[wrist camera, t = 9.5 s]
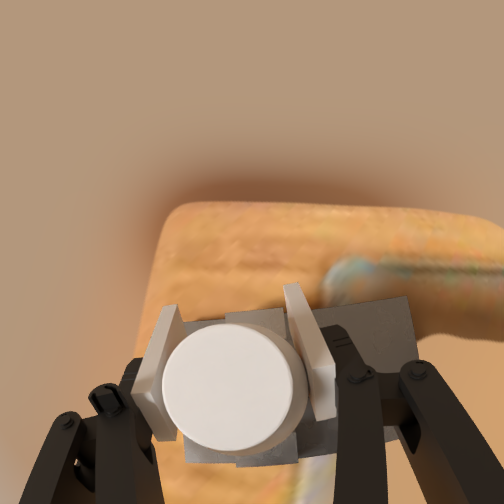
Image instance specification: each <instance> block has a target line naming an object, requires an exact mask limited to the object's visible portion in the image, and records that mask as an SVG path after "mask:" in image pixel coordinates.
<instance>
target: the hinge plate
mask: <svg viewBox="0 0 504 504" xmlns="http://www.w3.org/2000/svg"><path fill="white" fill-rule="evenodd" d="M311 311H312V314H313V316H314V318H315V320H316V322H317V325H318V327H319V328H322V327H327V326H331V325H336V324H338V325H340V326H341V327H343V328H344V329H346V331H347V333H348V334H349V336H350V338H351V340H352V341H353V344H354V345H355V347H356V348H357V350H358V352H359V354H360V355H361V357H362V359H363V361H364V362H365V364H366V365H369V366H371V367H372V368H374V369H375V371H376V372H380V373H396V372H400V369H401V367H402V366H403V365H404V364H405V363H407V362H409V361H412V360H419V355H418V349H417V344H416V338H415V333H414V328H413V323H412V318H411V313H410V308H409V304H408V299H407V296H402V297H396V298H390V299H384V300H377V301H371V302H365V303H358V304H351V305H344V306H337V307H330V308H322V309H314V310H311ZM226 323H250V324H255V325H259V326H262V327H265V328H267V329H269V330H271V331H273V332H275V333H276V334H278V335H279V336H281V337H282V338H283V339H285V340H286V341H287V342H288V343H289V344H290V345H291V346H292V347H293V348H294V349H295V346H294V343H293V340H292V336H291V333H290V329H289V322H288V315H287V313H284V311H283V307H281V308H272V309H263V310H253V311H242V312H232V313H225V319H219V320H206V321H193V322H183V324H184V327H185V330H186V333H187V336H189V335H191V334H192V333H194V332H196V331H197V330H199V329H202V328H205V327H208V326H211V325H216V324H226ZM295 351H296V350H295ZM383 427H384V438H385V442H389V441H393V440H397V439H399V438H398V435H397V433H396V431H395V429H394V427H393V426H383ZM183 437H184V449H185V460H186V463H236V467H258V466H272V465H284V464H293V463H298V458H306V457H313V456H320V455H327V454H333V453H337V440H338V412H337V410H336V417H334V418H330V419H326V420H321V421H316V418H315V414H314V411H313V407H312V404H311V401H310V397H309V394H308V401H307V405H306V409H305V412H304V414H303V416H302V418H301V420H300V422H299V424H298V425H297V427H296V428H295V429H294V431H293V432H292V433H291V434H290V435H289V436H288V437H287V438H286V439H285V440H283V441H282V442H281V443H279V444H278V445H276V446H275V447H273V448H271V449H269V450H266V451H264V452H260V453H257V454H252V455H246V456H233V455H226V454H221V453H218V452H215V451H212V450H210V449H208V448H206V447H204V446H202V445H200V444H198V443H196V442H194V441H193V440H191V439H190V438H188V437H187V436H186V435H184V434H183Z"/></svg>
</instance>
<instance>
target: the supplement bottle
mask: <svg viewBox="0 0 504 504" xmlns="http://www.w3.org/2000/svg"><path fill="white" fill-rule="evenodd" d="M308 390H309V386H308V378H307V374H306V370H305V367H304V365H303V363H302V360H301V359H300V357H299V355H298V353H297V352H296V351H295V349H294V348H293V347H292V346H291V345H290V344H289V343H288V342H287V341H286V340H285V339H283V338H282V337H281V336H279V335H278V334H276V333H275V332H273V331H271V330H269V329H267V328H265V327H262V326H259V325H255V324H250V323H226V324H216V325H211V326H208V327H205V328H202V329H199V330H197V331H196V332H194V333H192V334H191V335H189V336H188V337H186V338H185V339H184V340H183V341H182V342H181V343H180V344H179V345H178V346H177V347H176V348H175V350H174V351H173V352H172V354H171V356H170V358H169V359H168V361H167V364H166V367H165V370H164V373H163V379H162V394H163V399H164V403H165V407H166V409H167V412H168V414H169V416H170V418H171V419H172V421H173V422H174V424H175V425H176V426H177V428H178V429H179V430H180V431H181V432H182V433H183V434H184V435H186V436H187V437H188V438H190V439H191V440H193V441H194V442H196V443H198V444H200V445H202V446H204V447H206V448H208V449H210V450H212V451H215V452H218V453H221V454H226V455H233V456H246V455H252V454H257V453H260V452H264V451H266V450H269V449H271V448H273V447H275V446H276V445H278V444H279V443H281V442H282V441H283V440H285V439H286V438H287V437H288V436H289V435H290V434H291V433H292V432H293V431H294V429H295V428H296V427H297V425H298V424H299V422H300V420H301V418H302V416H303V414H304V412H305V409H306V405H307V401H308Z"/></svg>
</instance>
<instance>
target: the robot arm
mask: <svg viewBox="0 0 504 504" xmlns="http://www.w3.org/2000/svg"><path fill="white" fill-rule="evenodd" d="M283 288H284V295H285V301H286V308H287V315H288V322H289V329H290V333H291V336H292V340H293V343H294V346H295V350H296V352H297V353H298V355H299V357H300V359H301V360H302V363H303V365H304V367H305V370H306V374H307V378H308V386H309V390H308V394H309V397H310V401H311V404H312V407H313V411H314V414H315V418H316V421H321V420H326V419H330V418H334V417H336V410H337V412H338V440H337V460H336V476H335V489H334V501H333V504H388V486H387V465H386V451H385V438H384V427H383V426H393V427H394V429H395V431H396V433H397V435H398V438H399V440H400V442H401V444H402V446H403V449H404V451H405V453H406V455H407V458H408V460H409V462H410V464H411V467H412V469H413V471H414V474H415V476H416V478H417V481H418V483H419V485H420V488H421V490H422V492H423V495H424V497H425V500H426V502H427V504H504V469H503V467H502V466H501V464H500V463H499V461H498V459H497V458H496V456H495V454H494V453H493V451H492V450H491V448H490V446H489V445H488V443H487V442H486V440H485V439H484V437H483V436H482V434H481V433H480V431H479V429H478V428H477V426H476V425H475V423H474V422H473V421H472V419H471V418H470V416H469V415H468V413H467V412H466V410H465V409H464V407H463V406H462V404H461V403H460V402H459V400H458V399H457V397H456V396H455V394H454V393H453V392H452V390H451V389H450V387H449V386H448V385H447V383H446V382H445V381H444V379H443V378H442V376H441V375H440V374H439V372H438V371H437V369H436V368H435V367H434V366H433V365H432V364H431V363H429V362H427V361H424V360H412V361H409V362H407V363H405V364H404V365H403V366H402V367H401V369H400V372H396V373H380V372H376V371H375V369H374V368H372V367H371V366H369V365H366V364H365V362H364V361H363V359H362V357H361V355H360V354H359V352H358V350H357V348H356V347H355V345H354V344H353V341H352V340H351V338H350V336H349V334H348V333H347V331H346V329H344V328H343V327H341V326H340V325H338V324H336V325H331V326H327V327H322V328H319V327H318V325H317V322H316V320H315V318H314V316H313V314H312V311H311V309H310V307H309V305H308V303H307V301H306V298H305V296H304V294H303V292H302V290H301V288H300V285H299V283H298V282H297V283H292V284H287V285H283ZM186 337H188V336H187V333H186V330H185V327H184V324H183V321H182V318H181V315H180V311H179V308H178V305H177V304H174V305H168V306H163V308H162V311H161V313H160V316H159V318H158V321H157V323H156V326H155V329H154V331H153V334H152V336H151V339H150V342H149V344H148V347H147V349H146V352H145V355H144V357H143V358H134V359H133V360H132V361H131V362H130V363H129V364H128V365H127V367H126V369H125V372H124V375H123V377H122V381H120V384H119V386H117V385H116V384H112V383H107V384H103V385H100V386H98V387H96V388H95V389H93V391H92V392H91V393H90V394H89V397H88V399H89V401H90V402H91V404H92V405H93V407H94V409H95V410H96V412H97V413H98V415H96V416H93V417H89V418H85V419H82V418H81V417H80V415H79V414H78V413H76V412H73V411H69V412H65V413H63V414H61V415H59V416H58V417H57V418H56V419H55V421H54V422H53V424H52V427H51V429H50V431H49V433H48V435H47V437H46V439H45V442H44V444H43V446H42V448H41V450H40V453H39V455H38V457H37V460H36V462H35V464H34V467H33V469H32V471H31V474H30V476H29V479H28V481H27V484H26V486H25V489H24V491H23V494H22V497H21V499H20V502H19V504H165V502H164V497H163V492H162V487H161V482H160V476H159V471H158V465H157V459H156V452H155V448H154V446H153V444H152V442H151V438H152V434H154V436H155V438H156V439H157V441H176V436H177V429H178V428H177V426H176V425H175V424H174V422H173V421H172V419H171V418H170V416H169V414H168V412H167V409H166V407H165V403H164V399H163V394H162V379H163V373H164V370H165V367H166V364H167V361H168V359H169V358H170V356H171V354H172V352H173V351H174V350H175V348H176V347H177V346H178V345H179V344H180V343H181V342H182V341H183V340H184V339H185V338H186ZM76 459H77V460H78V461H77V464H76V465H74V463H75V460H76Z"/></svg>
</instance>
